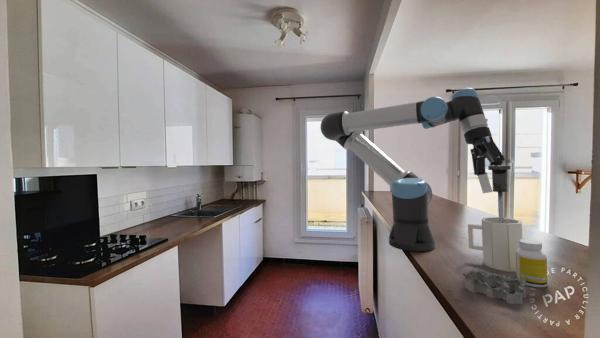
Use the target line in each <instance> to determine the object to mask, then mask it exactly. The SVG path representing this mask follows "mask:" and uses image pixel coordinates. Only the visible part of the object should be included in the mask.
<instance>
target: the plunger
mask: <svg viewBox="0 0 600 338" xmlns="http://www.w3.org/2000/svg"><path fill="white" fill-rule="evenodd" d="M511 169H512V168H511V165H503V166H495V165H494V166H490V165H488V171H491V179H492V181H491V182H492V191H493V192H495V193H497V204H498V217H499V223H504V218H505V217H504V196H503V193H507V192H508V188H509V187H508V186H507V179H508V170H509V171H510V170H511ZM493 192H492V193H493Z"/></svg>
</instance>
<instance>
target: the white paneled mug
mask: <svg viewBox="0 0 600 338" xmlns="http://www.w3.org/2000/svg"><path fill="white" fill-rule="evenodd" d="M503 218H504V223H499V216H492V217H490V216H489V217H483V218H482V219H481V224H476V223H475V224H473V223H468V224H467V236H468V238H467V239H468V241H467V242H468V249H470V250H477V251H481V252H482V261H483V263H484V265H485V266H486V267H488V268H491V269H493V270H496V271H501V272H507V273H516V250H517V249H519V248H521V247H520V246H519V240H521V239H523V221H522V220H519V219H515V218H510V217H503ZM474 230H480V231H481V238H482V241H481V243H482V245H480V244H475V243H474Z"/></svg>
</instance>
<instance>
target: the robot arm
mask: <svg viewBox="0 0 600 338" xmlns="http://www.w3.org/2000/svg"><path fill="white" fill-rule="evenodd" d="M478 95H479V94H477V91H476V90H475V88H473V87H465V88H462V89H460V90H458V91H456V92H454V93H453V94H452V97H451V100H449V101H447V102H446V101H445V99H444V98H441V97H439V96H430V97H428V98H426V99H425V100H421V101H416V102H409V103H403V104H396V105H391V106H385V107H380V108H373V109H367V110H362V111H355V112H349V111H347V110H344V111H340V112H339V111H338V112H332V113H329V114H327V115H326V116H324V118H322V120H321V123H320V132H321V134H322V135H323V137H324V138H326V139H327V140H329V141H334V142H336V143H338V144H339V145H340V146H341V147H342V148H343V149H344V150H350V151H351V152H352V153H353V154H354V155H355V156H357V157H358V159H360V160H361V161H362V162H363V163H364V164H365V165H366V166H368V167H369V168H370V169H371V170H372V171H373V172H374V173H375V174H376V175H378V176H379V177H380V178H381V179H382V180H383V181H384V182H385V183H386V184H387V185H388V186H389V192H390V193H391V199H392V202H391V203H392V205H391V206H392V225H391V229H390V231H389V232H390V233H389V236H388V244H389V245H390V246H391V247H392V248H395V249H398V250H402V251H407V252H408V251H409V252H428V251H432V250H434V249H436V239H435V237H434V233H433V231H432V229H431V226H430V224H429V223H430V219H429V204H430V203H431V201H432V199H433V190H432V188H431V186H430V184H429V183H428V182H427V181H426V180H425V179H423V178H420V177H418V176H417V174H415V173H414V172H413V171H411V170H404V169H403V168H402V167H401V166H400V165H398V164H397V162H395V161H394V160H393V159H391V158H390V157H389V156H388V155H387V154H386V153H385V152H383V150H381V149H380V148H379V147H378V146H377V145H376V144H374V143H373V142H372V141H371V140H370V139H368V138H367V137H366V136H365V135H364V131H369V130H370V131H371V130H379V129H386V128H393V127H401V126H408V125H415V124H416V125H417V124H421V125H422V128H423V129H424V130H427V129H431V128H433V129H434V128H435V127H438V126H441V125H444V124H448V123H451V122H453V121H457V120H459V125H460V129H461V132H462V133H463V138H464V140H465V143H466V144H467V145H472V148H470V154H471V159H472V167H473V175H474V176H477V179H478V182H479V185H480V188H481V190H482V194H489V193H493V187H492V186H491V183H490V182H491V181H490V179H489V176H488V172H487V171H486V159H487V161H489V166H504V165H503V164H504V162H503V161H505V156H504V155H503V153H502V152H501V150H500V149H499V147H498V146H497V145H496V143H495V142H494V139H493V135H492V132H491V130H490V127H488V126H489V124H488V120H489V119H488V118H486V115H485V111H484V109H483V106H482V103H481V100H480V97H479V96H478ZM508 186H510V182H509V180H508V178H507V187H508Z"/></svg>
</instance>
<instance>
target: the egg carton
mask: <svg viewBox="0 0 600 338" xmlns="http://www.w3.org/2000/svg"><path fill="white" fill-rule="evenodd" d="M462 276H463V277H464V279H463V281H464V289H467V290H468V291H469V292H471V293H474V294H475V293H481V294H483V295H485V296H486V297H487V298H490V299H491V298H492V299H496V297H497V299H501V298H502V300H504V301H505V300H506V301H505V302H506V303H507V304H510V305H516V304H517V305H518V304H519V305H523V299H525V298H526V286H527V285H526V279H517V278H516V277H512V276H508V277H507V276H506V275H505V274H498V273H495V272H490V271H487V270H485V269H482V268H475V269H472V270H469V271H468V272H466V273H465V272H463V273H462ZM511 292H513V293H511Z"/></svg>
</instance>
